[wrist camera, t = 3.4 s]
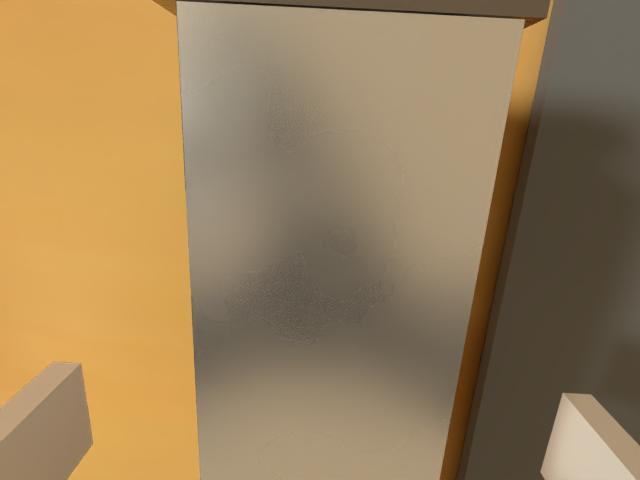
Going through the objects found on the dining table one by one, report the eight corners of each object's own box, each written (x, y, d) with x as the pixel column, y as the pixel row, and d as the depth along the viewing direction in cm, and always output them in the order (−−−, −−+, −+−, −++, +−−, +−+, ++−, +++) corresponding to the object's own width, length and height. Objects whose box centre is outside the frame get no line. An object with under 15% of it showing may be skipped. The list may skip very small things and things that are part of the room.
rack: (257, 41, 14) (134, -86, 5) (419, 50, 14) (570, -64, 5) (255, 479, 21) (196, 760, 12) (368, 486, 21) (398, 775, 12)
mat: (558, -22, 14) (572, -30, 13) (819, -8, 14) (848, -16, 13) (447, 527, 21) (451, 542, 21) (612, 538, 21) (623, 553, 21)
